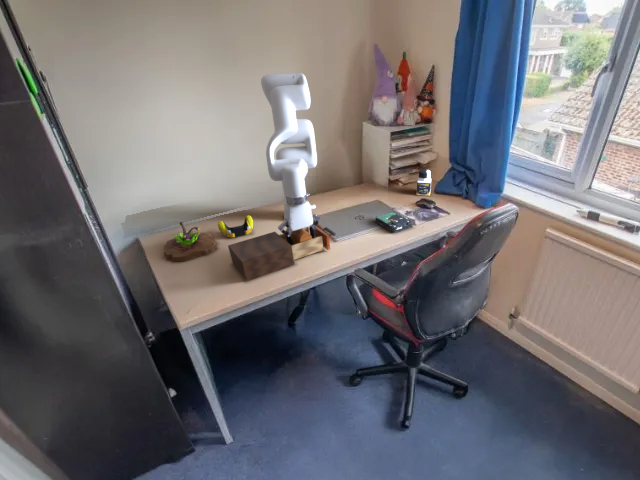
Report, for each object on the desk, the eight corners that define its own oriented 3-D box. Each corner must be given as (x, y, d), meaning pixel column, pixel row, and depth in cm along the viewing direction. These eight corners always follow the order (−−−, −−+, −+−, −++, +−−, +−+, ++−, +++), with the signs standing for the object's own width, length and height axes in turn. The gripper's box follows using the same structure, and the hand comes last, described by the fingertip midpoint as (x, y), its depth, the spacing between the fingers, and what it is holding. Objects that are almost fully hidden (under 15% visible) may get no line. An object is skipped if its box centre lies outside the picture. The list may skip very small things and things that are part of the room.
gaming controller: (219, 231, 169) (222, 241, 162) (216, 220, 166) (219, 229, 159) (253, 224, 174) (257, 233, 167) (250, 213, 171) (255, 221, 164)
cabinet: (278, 249, 154) (274, 231, 149) (294, 264, 144) (291, 245, 139) (232, 264, 145) (227, 245, 141) (246, 281, 135) (242, 261, 131)
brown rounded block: (303, 241, 155) (301, 224, 151) (313, 248, 150) (311, 231, 146) (292, 244, 153) (290, 227, 149) (301, 252, 148) (299, 235, 143)
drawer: (323, 233, 163) (322, 220, 159) (340, 245, 154) (339, 231, 150) (275, 249, 153) (272, 235, 149) (290, 263, 143) (287, 248, 140)
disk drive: (412, 227, 169) (392, 216, 179) (413, 222, 167) (393, 210, 177) (394, 234, 164) (374, 221, 174) (394, 228, 162) (374, 216, 172)
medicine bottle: (416, 195, 200) (417, 172, 193) (417, 190, 206) (418, 168, 199) (429, 195, 199) (431, 172, 192) (430, 190, 205) (432, 168, 198)
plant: (209, 233, 168) (202, 209, 162) (221, 251, 154) (214, 225, 148) (160, 245, 159) (151, 221, 153) (168, 265, 146) (159, 239, 139)
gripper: (312, 191, 147) (316, 231, 156) (270, 201, 139) (277, 243, 148) (321, 196, 142) (325, 238, 151) (279, 208, 134) (286, 250, 143)
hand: (301, 240), depth 150 cm, fingers open, 9 cm apart
